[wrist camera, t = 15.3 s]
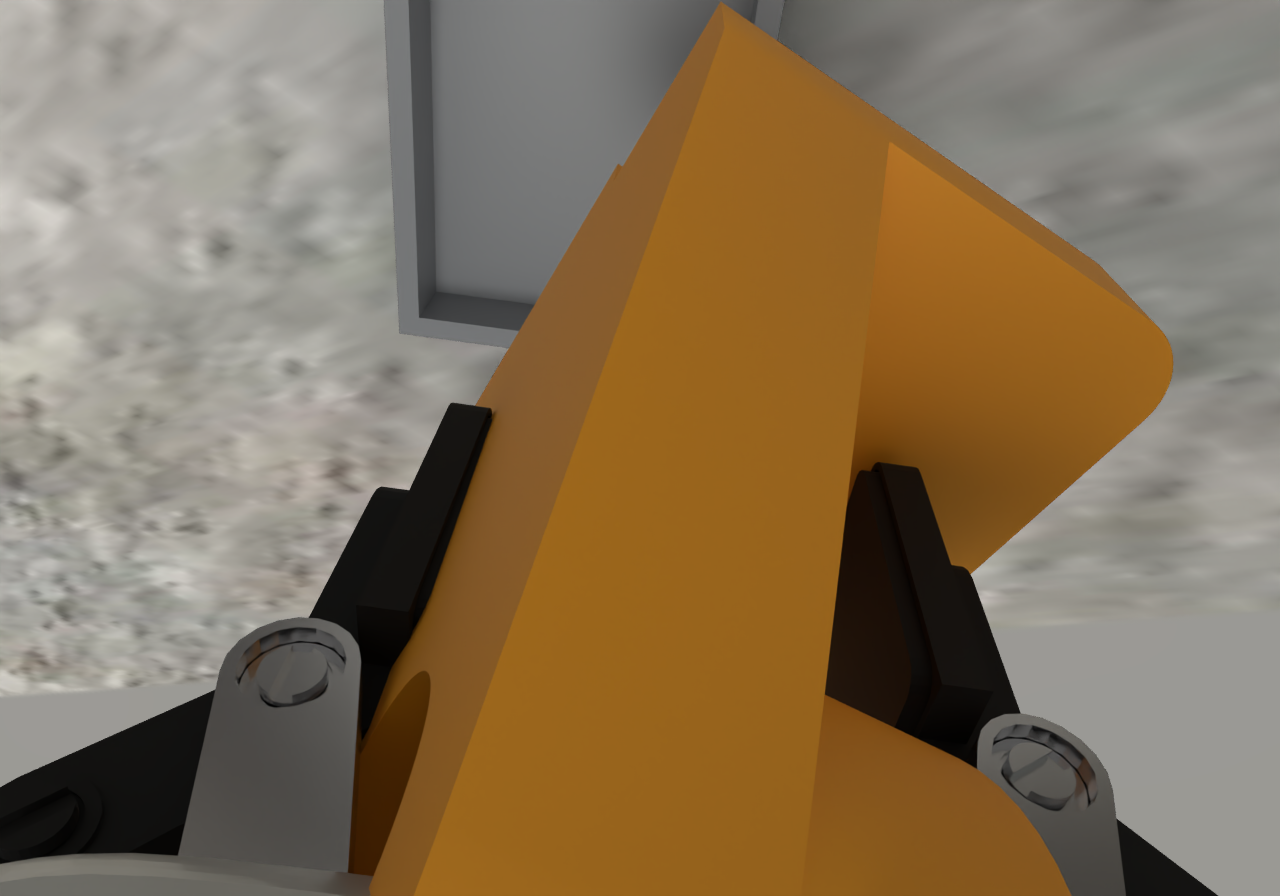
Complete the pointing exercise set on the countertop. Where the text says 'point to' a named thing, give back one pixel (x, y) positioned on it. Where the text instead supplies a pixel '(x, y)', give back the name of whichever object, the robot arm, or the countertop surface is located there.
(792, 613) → the bracket
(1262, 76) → the countertop surface
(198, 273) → the countertop surface
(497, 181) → the tray
